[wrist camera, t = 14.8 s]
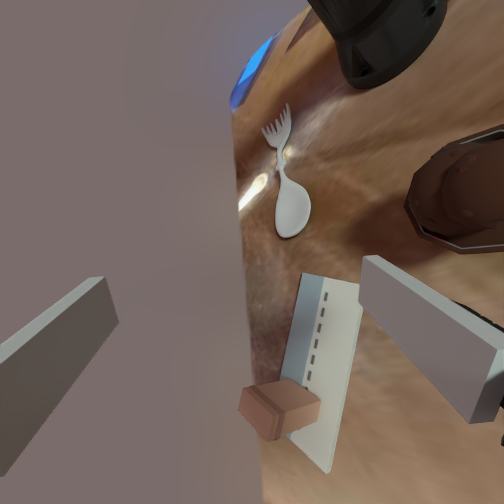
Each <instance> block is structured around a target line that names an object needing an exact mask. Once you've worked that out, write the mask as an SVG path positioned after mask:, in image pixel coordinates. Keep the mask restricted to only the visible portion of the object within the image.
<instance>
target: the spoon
mask: <svg viewBox="0 0 504 504" xmlns="http://www.w3.org/2000/svg"><path fill="white" fill-rule="evenodd" d="M286 108H287V114H286V111H285V110H284V109H283V112H284V118H283V116H282V114H281V113H280V117H281V122H282V126H281V124H280V123H279V121H278V120H277V119H275V122H276V127H277V132H276V130H275V128H274V126H273V125H272V123H270V124H271V129H272V132H271V131H270V129H269V127H268V126H267V132H268V134H267V133H266V131H265V129H264V128H262V132H263V134H264V136H265V138H266V139H267V141H268V143H269V144H270V145H271V146H272V147H275V148H277V165H276V168H275V170H276V171H279V172H280V178H281V185H280V190H279V195H278V200H277V204H276V210H275V225H276V230H277V232H278V234H279V235H280V236H281V237H284V238H288V237H292V236H295V235H297V234H298V233H299V232H300V231H301V230H302V229H303V228H304V227H305V225H306V223H307V221H308V218H309V215H310V209H311V203H310V198H309V195H308V193H307V191H306V190H305V189H304V188H303V187H302V186H301V185H299V184H297V183H295V182H293V181H291V180H290V179H288V178H287V177H286V175H285V173H284V168H285V166H286V164H287V162H286V160H283V157H282V151H283V148H284V146H285V144H286V142H287V140H288V137H289V134H290V131H291V113H290V107H289V105H288V103H286ZM284 119H285V120H284ZM272 133H273V134H272Z"/></svg>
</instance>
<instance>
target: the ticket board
mask: <svg viewBox="0 0 504 504" xmlns="http://www.w3.org/2000/svg"><path fill="white" fill-rule="evenodd" d="M359 287H360V285H359V284H355V283H350V282H345V281H340V280H336V279H331V278H326V277H322V276H317V275H312V274H307V273H303V274H302V278H301V283H300V288H299V292H298V297H297V301H296V306H295V311H294V315H293V320H292V324H291V329H290V334H289V338H288V343H287V347H286V352H285V357H284V361H283V366H282V370H281V375H280V380H279V381H281V380H286V379H292V380H293V381H294V382H296V383H297V384H299V385H300V386H302V387H303V388H304V389H306V390H307V391H309V392H310V393H312V394H313V395H315V396H316V397H317V398H319V399H320V400H321V405H320V410H319V415H318V420H317V422H315V423H312V424H310V425H308V426H305V427H303V428H301V429H298V430H296V431H294V432H291V433H289V434H287V435H285V436H286V437H287V438H288V439H289V440H292V441H293V442H294V443H295V444H296V445H297V446H298V447H299V448H300V449H301V450H302V451H303V452H304V453H305V454H306V455H307V456H308V457H309V458H310V459H311V460H312V461H313V462H314V463H315V464H316V465H317V466H319V467H320V468H321V469H322V470H323V471H324V472H325V473H326V474H328V473H329V472H331V467H332V462H333V457H334V452H335V447H336V442H337V437H338V432H339V427H340V422H341V417H342V412H343V407H344V402H345V397H346V392H347V387H348V382H349V377H350V372H351V367H352V362H353V357H354V352H355V347H356V342H357V337H358V332H359V327H360V322H361V317H362V312H363V307H362V306H361V305H360V304H359V303H358V295H359Z"/></svg>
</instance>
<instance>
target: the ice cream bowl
mask: <svg viewBox="0 0 504 504" xmlns="http://www.w3.org/2000/svg"><path fill="white" fill-rule="evenodd" d="M430 158H431V159H430V160H429V161H428V162H427V163H425V164H424V165H423V166H422V167H421V168H420V169H419V170H418V171H417V172H415V173H414V176H413V179H412V182H411V185H410V188H409V191H408V195H407V198H406V201H405V204H404V208H405V210H406V212H407V214H408V216H409V218H410V220H411V223H412V225H413V227H414V229H415V231H416V233H417V235H418V236H419V237H421V238H424V239H426V240H428V241H430V242H433V243H435V244H437V245H440V246H442V247H444V248H447V249H449V250H451V251H453V252H456V253H458V254H463V255H464V254H478V253H492V252H504V124H501V125H498V126H496V127H493V128H490V129H487V130H484V131H482V132H479V133H476V134H473V135H470V136H467V137H465V138H462V139H459V140H456V141H453V142H450V143H448V144H447V145H446V146H444V147H442V148H441V149H440V150H439V151H438V152H436V153H435V154H434V155H433V156H432V157H430Z"/></svg>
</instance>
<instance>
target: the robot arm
mask: <svg viewBox="0 0 504 504" xmlns="http://www.w3.org/2000/svg"><path fill="white" fill-rule="evenodd" d="M307 1H308V2H309V4H310V5H311V6H312V8H313V9H314V11H315V12H316V14H317V15H318V17H319V18H320V20H321V21H322V23H323V24H324V25H325V27H326V28H327V30H328V31H329V33H330V34H331V36H332V37H333V39H334V40H335V44H336V48H337V53H338V57H339V62H340V66H341V70H342V73H343V75H344V77H345V78H346V80H347V81H348V82H349V84H350V85H351V86H353V87H355V88H358V89H366V88H371V87H375V86H377V85H380V84H382V83H384V82H386V81H388V80H390V79H391V78H393V77H395V76H396V75H398V74H399V73H400V72H402V71H403V70H404V69H406V68H407V67H408V66H409V65H410V64H411V63H413V62H414V61H415V60H416V59H417V58H418V57H419V56H420V55H421V53H422V52H423V51H424V50H425V49H426V48H427V47H428V45H429V44H430V43H431V41H432V40H433V38H434V37H435V35H436V34H437V32H438V31H439V29H440V27H441V25H442V23H443V20H444V18H445V15H446V11H447V0H307ZM358 303H359V304H360V305H361V306H362V307H363V308H364V309H365V310H366V311H367V312H368V314H369V315H370V316H371V317H372V318H373V319H374V320H375V321H376V322H377V324H378V325H379V326H380V327H381V328H382V329H383V330H384V331H385V332H386V333H387V335H388V336H389V337H390V338H391V339H392V340H393V341H394V342H395V343H396V344H397V346H398V347H399V348H400V349H401V350H402V351H403V352H404V353H405V354H406V355H407V357H408V358H409V359H410V360H411V361H412V362H413V363H414V364H415V365H416V366H417V368H418V369H419V370H420V371H421V372H422V373H423V374H424V375H425V376H426V377H427V379H428V380H429V381H430V382H431V383H432V384H433V385H434V386H435V387H436V388H437V390H438V391H439V392H440V393H441V394H442V395H443V396H444V397H445V398H446V399H447V401H448V402H449V403H450V404H451V405H452V406H453V407H454V408H455V409H456V410H457V412H458V413H459V414H460V415H461V416H462V417H463V418H464V419H465V420H466V421H467V423H468V424H473V423H482V422H491V421H494V419H495V417H496V415H497V412H498V410H499V408H500V406H501V407H502V408H503V409H504V328H502V327H501V326H499V325H497V324H493V322H492V321H491V320H489V319H487V318H486V317H484V316H481V314H479V313H477V312H476V311H474V310H472V309H471V308H469V307H467V306H465V305H463V304H460V303H458V302H455V301H453V300H450V299H448V298H446V297H445V296H443V295H441V294H440V293H438V292H436V291H435V290H433V289H432V288H430V287H428V286H427V285H425V284H424V283H422V282H420V281H419V280H417V279H415V278H414V277H412V276H411V275H409V274H407V273H406V272H404V271H402V270H401V269H399V268H398V267H396V266H394V265H393V264H391V263H390V262H388V261H386V260H385V259H383V258H381V257H380V256H378V255H371V256H363V261H362V269H361V278H360V287H359V295H358ZM118 324H119V320H118V317H117V313H116V310H115V307H114V303H113V300H112V297H111V294H110V290H109V287H108V284H107V280H106V277H105V276H104V277H90V278H88V279H87V280H86V281H84V282H83V283H82V284H80V285H79V286H78V287H76V288H75V289H74V290H73V291H71V292H70V293H68V294H67V295H66V296H64V297H63V298H62V299H61V300H59V301H58V302H56V303H55V304H54V305H52V306H51V307H50V308H49V309H47V310H46V311H44V312H43V313H42V314H41V315H39V316H38V317H37V318H35V319H34V320H33V321H31V322H30V323H29V324H27V325H26V326H25V327H23V328H22V329H21V330H19V331H18V332H17V333H15V334H14V335H13V336H11V337H10V338H9V339H7V340H6V341H5V342H3V343H2V344H1V345H0V477H2V476H5V474H6V473H7V472H8V470H9V469H10V468H11V466H12V465H13V464H14V462H15V461H16V460H17V458H18V457H19V456H20V454H21V453H22V452H23V450H24V449H25V448H26V446H27V445H28V444H29V442H30V441H31V440H32V438H33V437H34V436H35V434H36V433H37V432H38V430H39V429H40V428H41V426H42V425H43V424H44V422H45V421H46V420H47V418H48V417H49V415H50V414H51V413H52V412H53V410H54V409H55V408H56V406H57V405H58V404H59V402H60V401H61V400H62V398H63V397H64V396H65V394H66V393H67V392H68V390H69V389H70V388H71V386H72V385H73V384H74V382H75V381H76V380H77V378H78V377H79V376H80V374H81V373H82V371H83V370H84V369H85V368H86V366H87V365H88V364H89V362H90V361H91V360H92V358H93V357H94V356H95V354H96V353H97V352H98V350H99V349H100V348H101V346H102V345H103V343H104V342H105V341H106V340H107V338H108V337H109V336H110V334H111V333H112V332H113V330H114V329H115V328H116V326H117V325H118ZM501 445H502V446H504V435H503V437H502V440H501Z"/></svg>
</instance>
